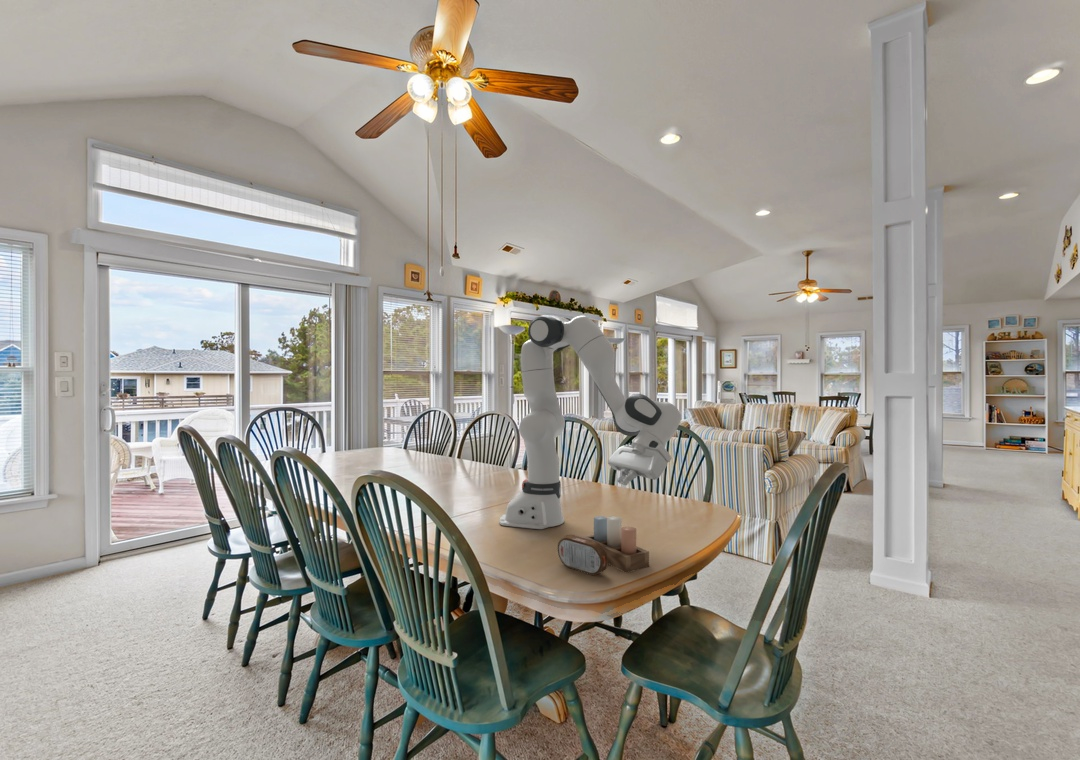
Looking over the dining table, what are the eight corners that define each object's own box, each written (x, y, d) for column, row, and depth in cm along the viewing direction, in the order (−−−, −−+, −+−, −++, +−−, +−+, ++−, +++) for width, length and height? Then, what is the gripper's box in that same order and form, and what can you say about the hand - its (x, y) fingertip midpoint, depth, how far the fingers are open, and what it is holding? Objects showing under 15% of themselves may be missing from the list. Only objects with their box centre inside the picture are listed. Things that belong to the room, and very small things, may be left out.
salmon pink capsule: (621, 561, 134) (621, 531, 134) (621, 555, 138) (621, 526, 138) (636, 561, 134) (636, 531, 133) (636, 556, 138) (636, 527, 137)
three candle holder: (649, 566, 135) (649, 551, 135) (626, 572, 131) (626, 557, 131) (604, 546, 151) (604, 532, 151) (582, 551, 147) (582, 537, 147)
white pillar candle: (606, 549, 139) (606, 520, 139) (607, 544, 143) (607, 516, 143) (621, 549, 139) (621, 520, 139) (621, 545, 143) (621, 516, 143)
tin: (608, 576, 129) (608, 543, 129) (601, 579, 127) (601, 546, 127) (563, 561, 139) (562, 531, 139) (555, 565, 137) (555, 533, 137)
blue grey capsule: (593, 548, 144) (593, 520, 144) (594, 543, 148) (594, 516, 148) (607, 548, 144) (607, 520, 144) (608, 543, 148) (607, 516, 148)
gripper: (618, 437, 163) (594, 470, 158) (665, 445, 145) (639, 483, 140) (629, 450, 165) (605, 483, 160) (676, 459, 147) (651, 497, 143)
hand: (621, 483), depth 150 cm, fingers closed
